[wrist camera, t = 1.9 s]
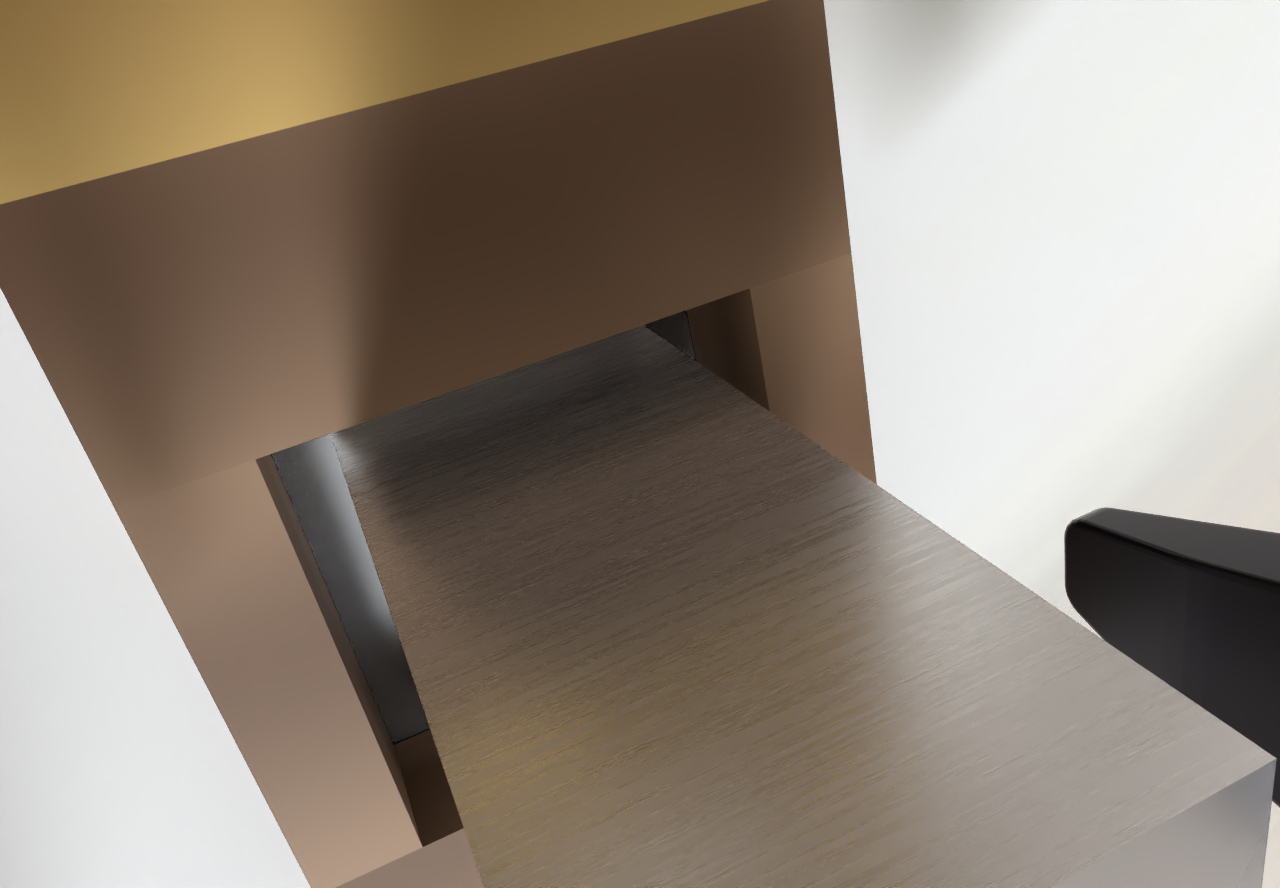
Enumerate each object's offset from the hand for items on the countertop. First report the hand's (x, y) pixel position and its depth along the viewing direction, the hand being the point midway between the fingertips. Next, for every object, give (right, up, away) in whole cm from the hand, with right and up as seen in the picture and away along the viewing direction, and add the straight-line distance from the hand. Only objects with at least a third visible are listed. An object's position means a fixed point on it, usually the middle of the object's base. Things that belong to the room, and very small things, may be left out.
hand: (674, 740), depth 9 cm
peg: (-2, +2, +4) cm, 5 cm away
